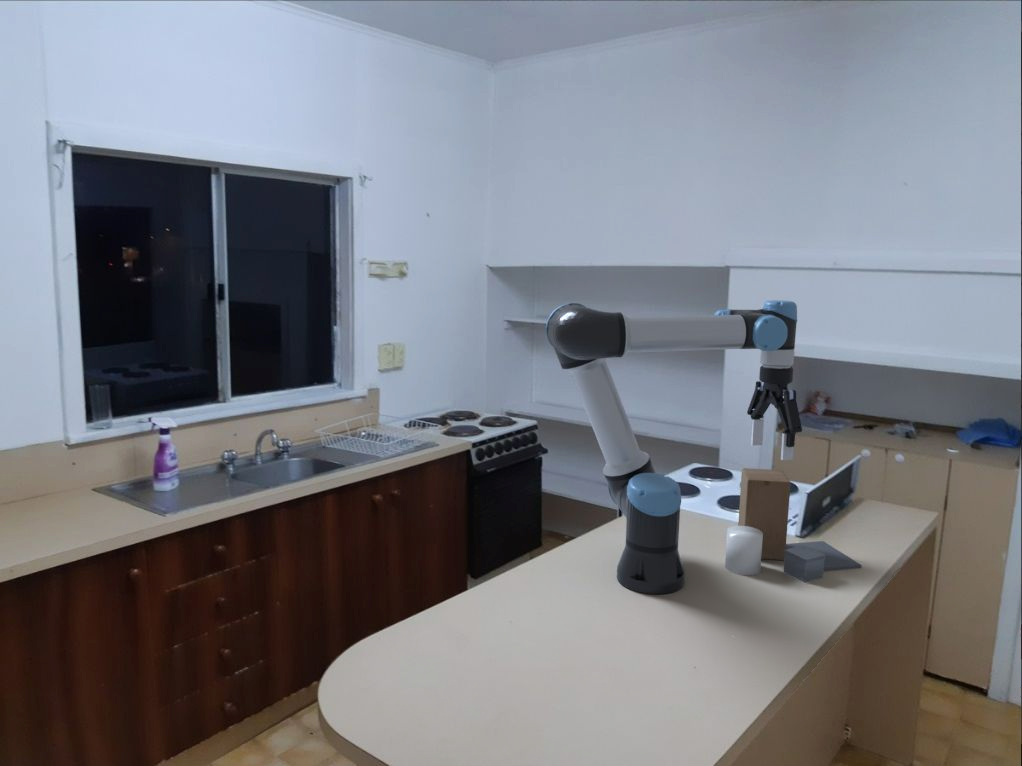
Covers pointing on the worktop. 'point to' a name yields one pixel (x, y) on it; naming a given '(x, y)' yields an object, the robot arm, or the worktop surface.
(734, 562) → the white rounded cylinder
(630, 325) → the robot arm
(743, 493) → the wooden block
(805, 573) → the tea tin
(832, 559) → the mat
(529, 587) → the worktop surface
